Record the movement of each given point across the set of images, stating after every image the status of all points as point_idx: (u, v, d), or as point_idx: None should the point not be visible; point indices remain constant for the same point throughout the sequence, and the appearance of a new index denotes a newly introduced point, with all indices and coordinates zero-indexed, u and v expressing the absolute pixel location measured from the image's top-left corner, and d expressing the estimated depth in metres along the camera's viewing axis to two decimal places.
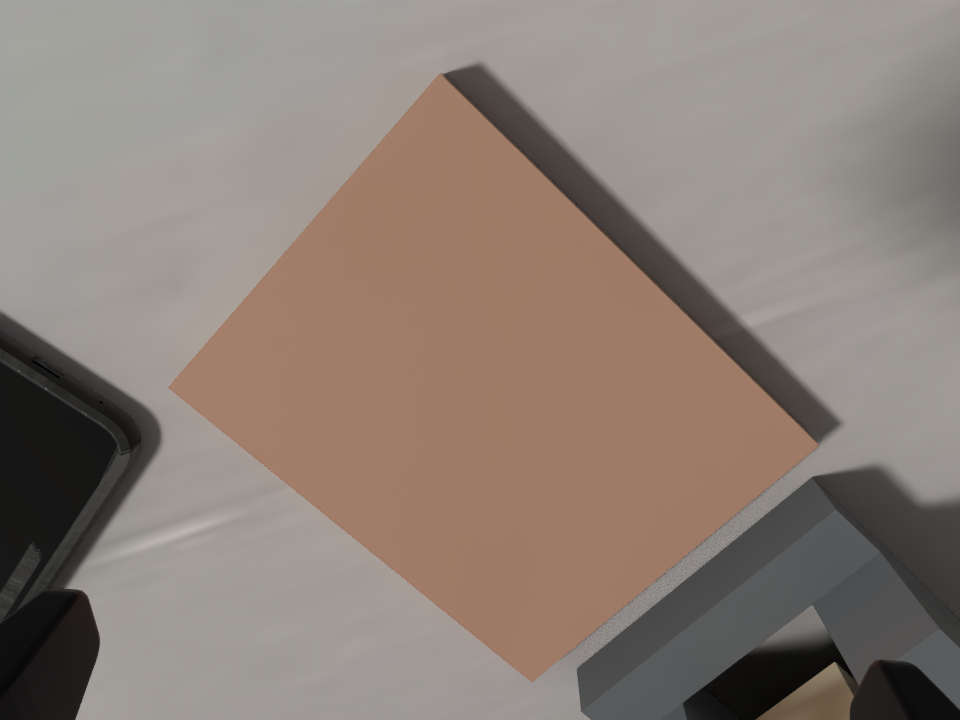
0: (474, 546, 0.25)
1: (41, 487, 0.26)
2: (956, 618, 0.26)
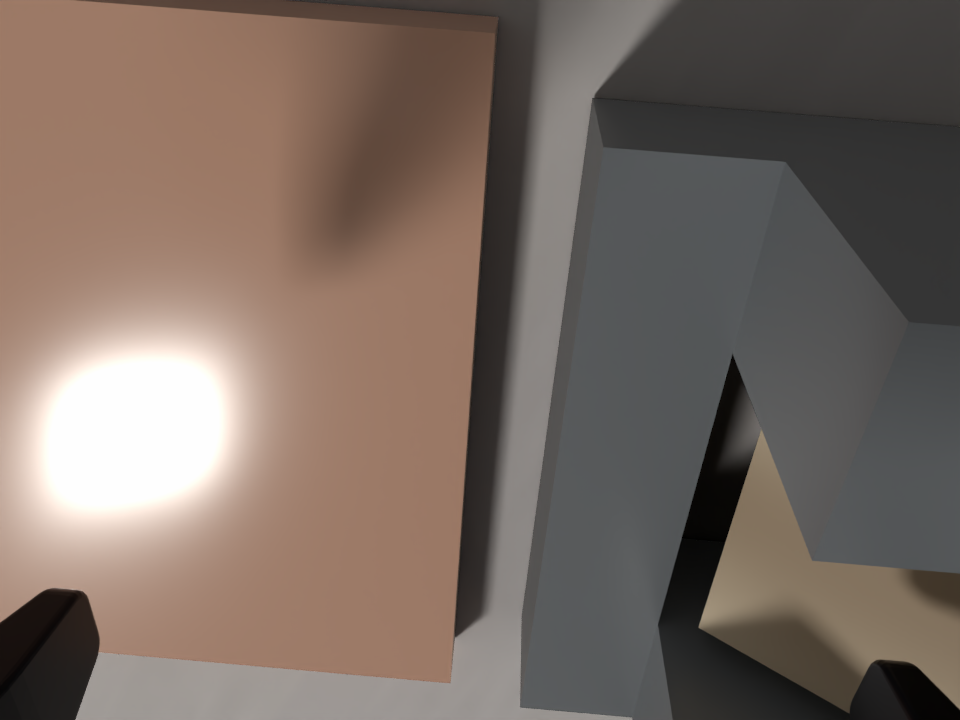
0: (186, 575, 0.15)
1: None
2: None
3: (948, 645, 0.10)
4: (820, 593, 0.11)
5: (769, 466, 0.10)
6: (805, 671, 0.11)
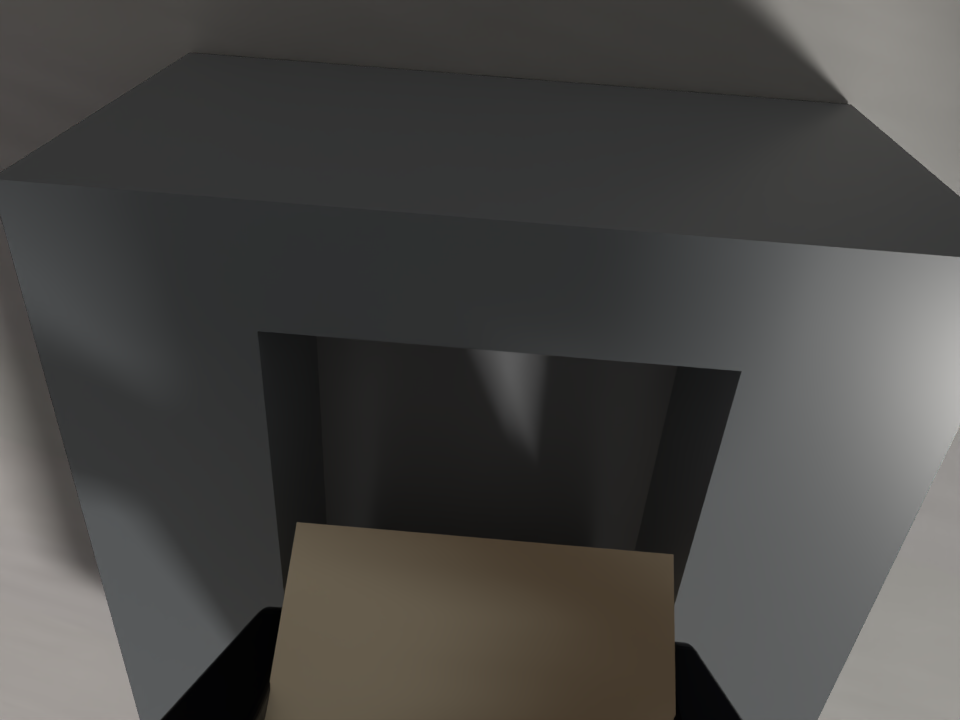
0: None
1: None
2: None
3: None
4: None
5: None
6: None
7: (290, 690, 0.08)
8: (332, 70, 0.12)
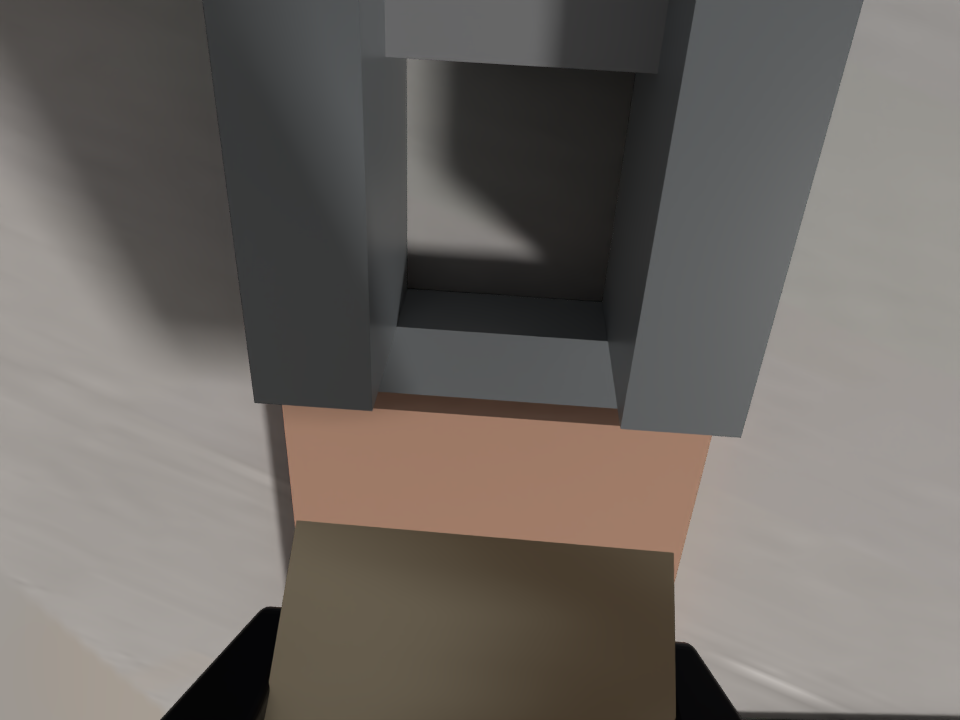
0: None
1: None
2: None
3: None
4: None
5: None
6: None
7: (290, 688, 0.08)
8: None
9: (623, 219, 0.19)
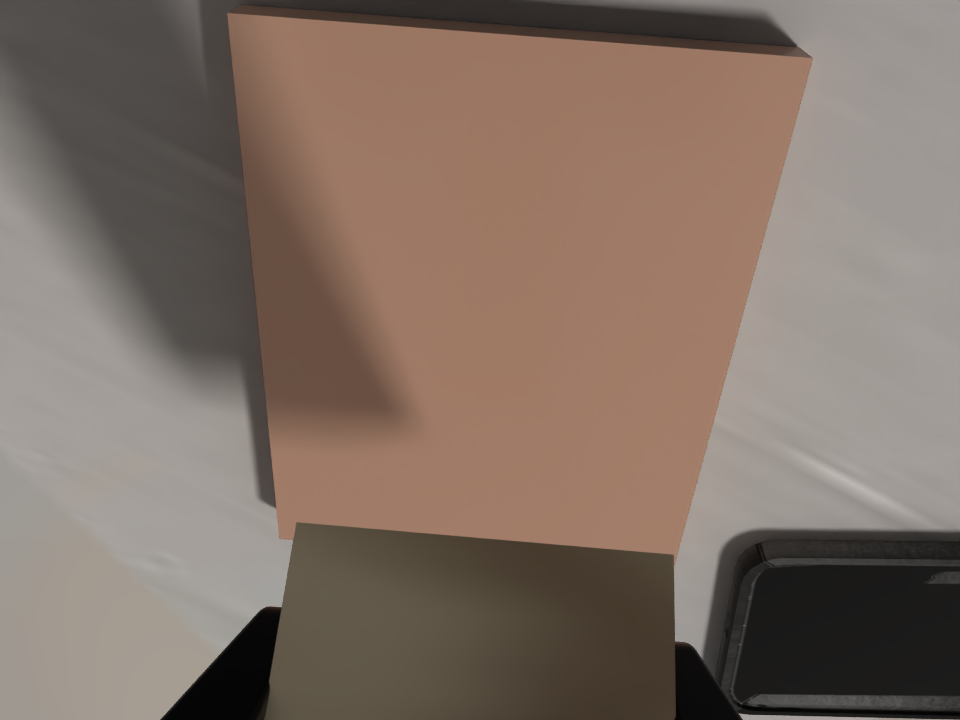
0: (651, 264, 0.19)
1: (853, 597, 0.25)
2: None
3: None
4: None
5: None
6: None
7: (289, 690, 0.08)
8: None
9: None
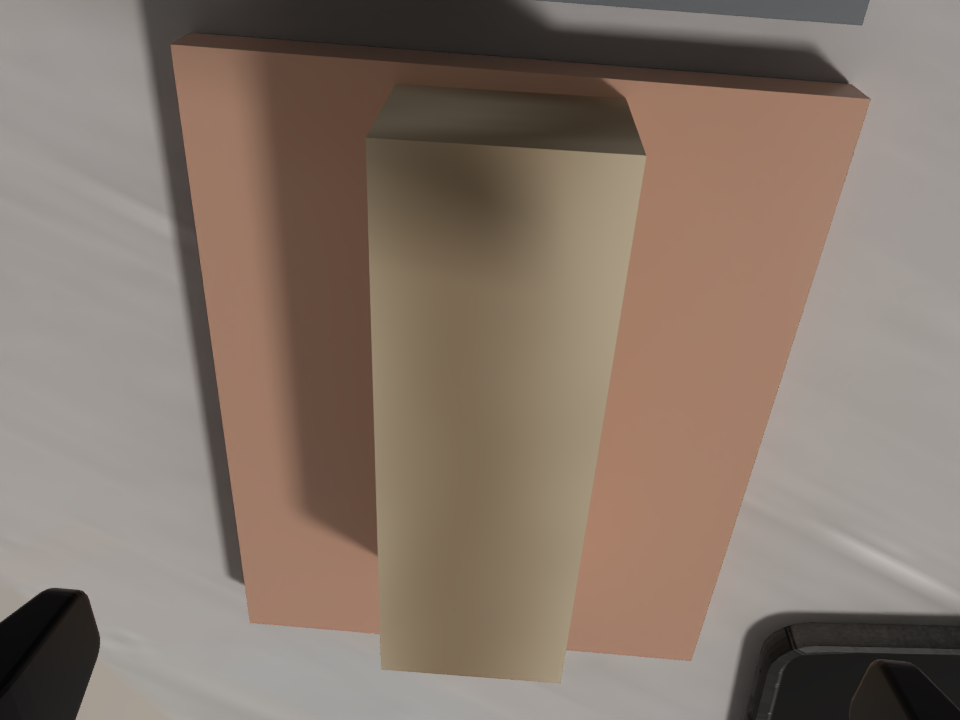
0: (673, 332, 0.16)
1: None
2: None
3: (478, 588, 0.17)
4: (484, 637, 0.17)
5: (410, 665, 0.18)
6: (552, 635, 0.17)
7: (394, 110, 0.13)
8: None
9: None
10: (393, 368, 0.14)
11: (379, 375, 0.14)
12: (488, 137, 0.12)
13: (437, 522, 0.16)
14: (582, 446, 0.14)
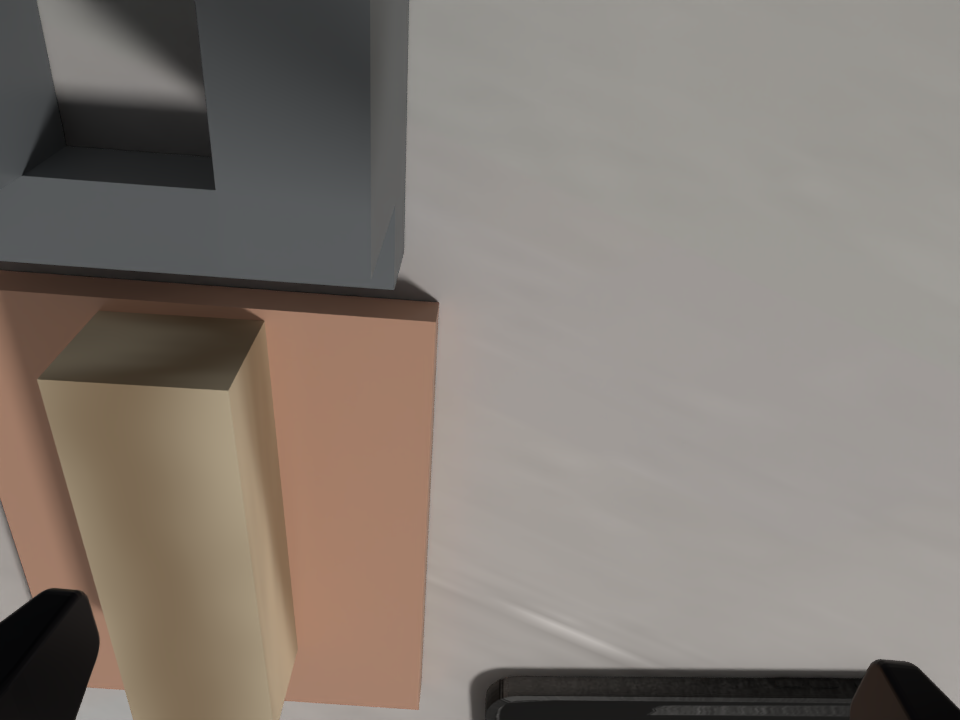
0: (339, 472, 0.22)
1: None
2: None
3: (193, 667, 0.22)
4: (207, 703, 0.23)
5: None
6: (258, 701, 0.23)
7: (76, 346, 0.18)
8: None
9: None
10: (91, 519, 0.19)
11: (82, 524, 0.19)
12: (126, 374, 0.17)
13: (150, 621, 0.21)
14: (240, 570, 0.20)
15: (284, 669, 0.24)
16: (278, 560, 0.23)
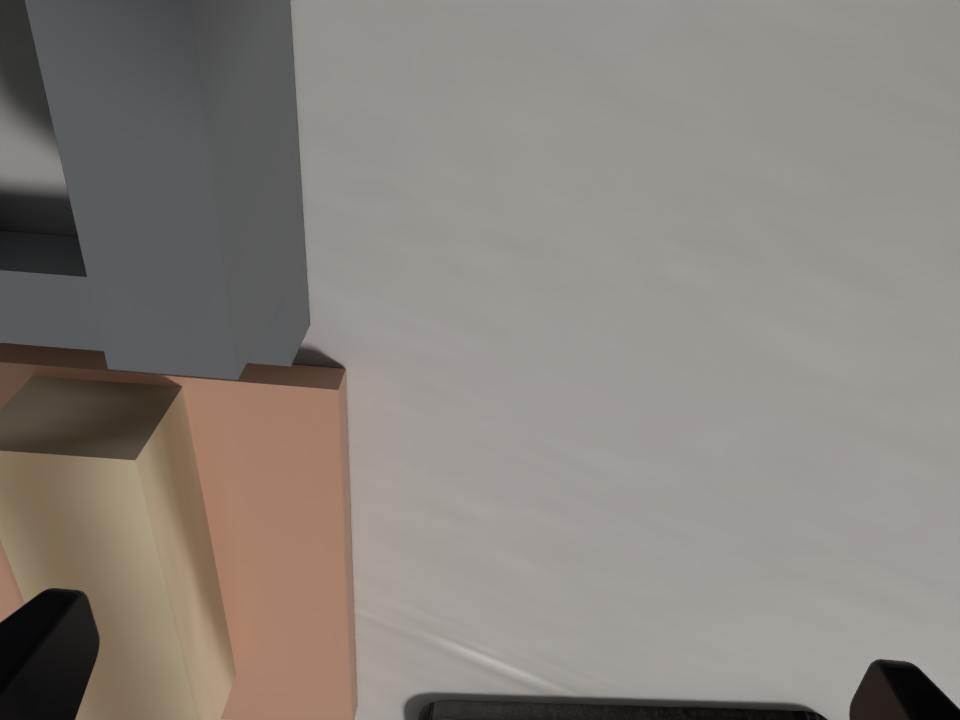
0: (261, 519, 0.24)
1: None
2: None
3: (126, 696, 0.24)
4: None
5: None
6: None
7: (6, 413, 0.20)
8: None
9: None
10: (24, 567, 0.21)
11: (16, 571, 0.21)
12: (46, 443, 0.19)
13: None
14: (161, 613, 0.22)
15: (218, 695, 0.26)
16: (207, 598, 0.24)
